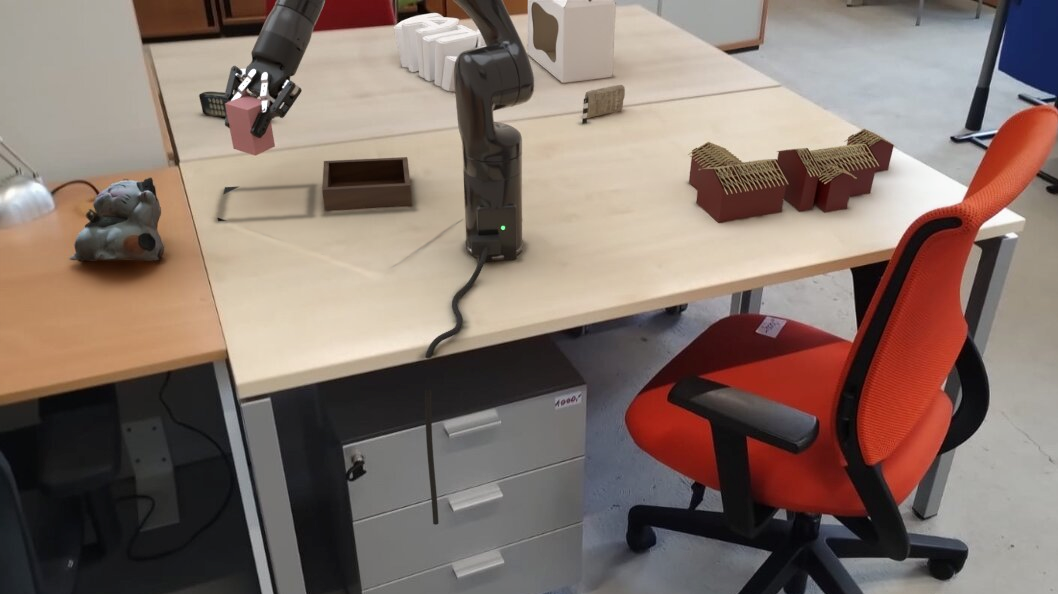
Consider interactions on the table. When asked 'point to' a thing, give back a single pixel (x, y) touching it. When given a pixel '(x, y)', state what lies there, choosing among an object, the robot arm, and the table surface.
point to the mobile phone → (214, 103)
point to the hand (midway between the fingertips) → (242, 131)
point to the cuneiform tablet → (603, 101)
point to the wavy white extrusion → (434, 46)
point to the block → (247, 126)
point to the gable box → (572, 37)
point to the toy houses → (787, 177)
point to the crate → (366, 184)
